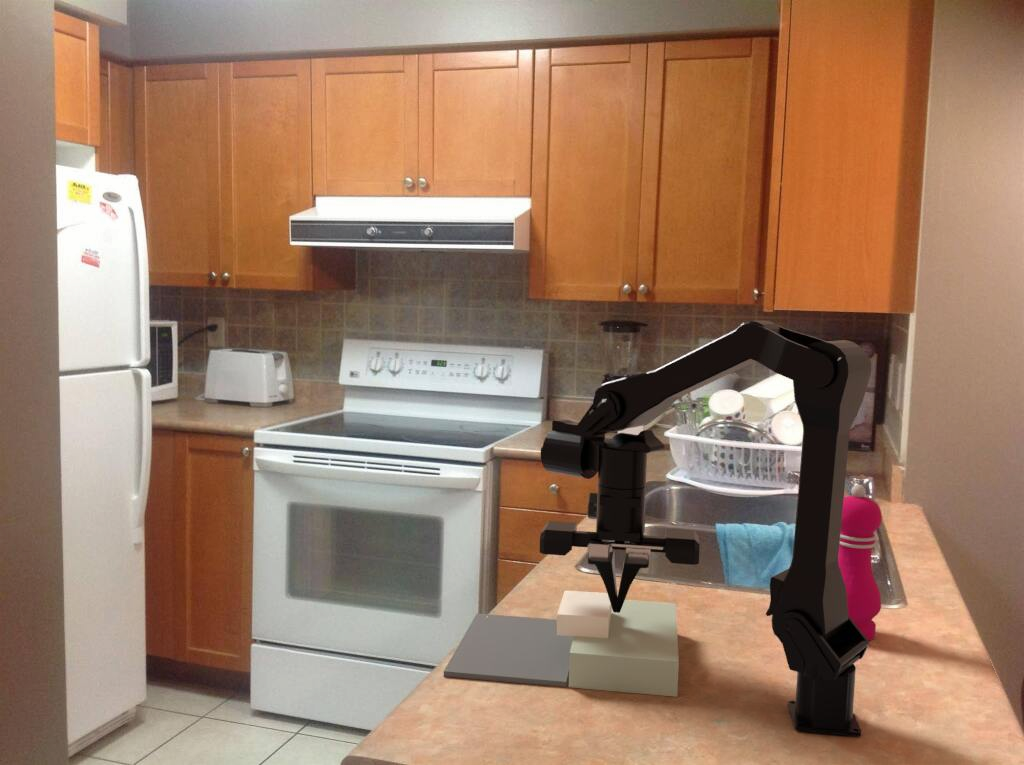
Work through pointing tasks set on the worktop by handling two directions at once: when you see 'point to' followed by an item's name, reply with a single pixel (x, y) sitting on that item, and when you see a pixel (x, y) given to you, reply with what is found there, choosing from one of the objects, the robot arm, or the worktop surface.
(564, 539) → the robot arm
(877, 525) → the pepper mill
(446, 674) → the mat
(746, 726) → the worktop surface
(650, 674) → the block
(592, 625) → the tilted white rectangular prism
